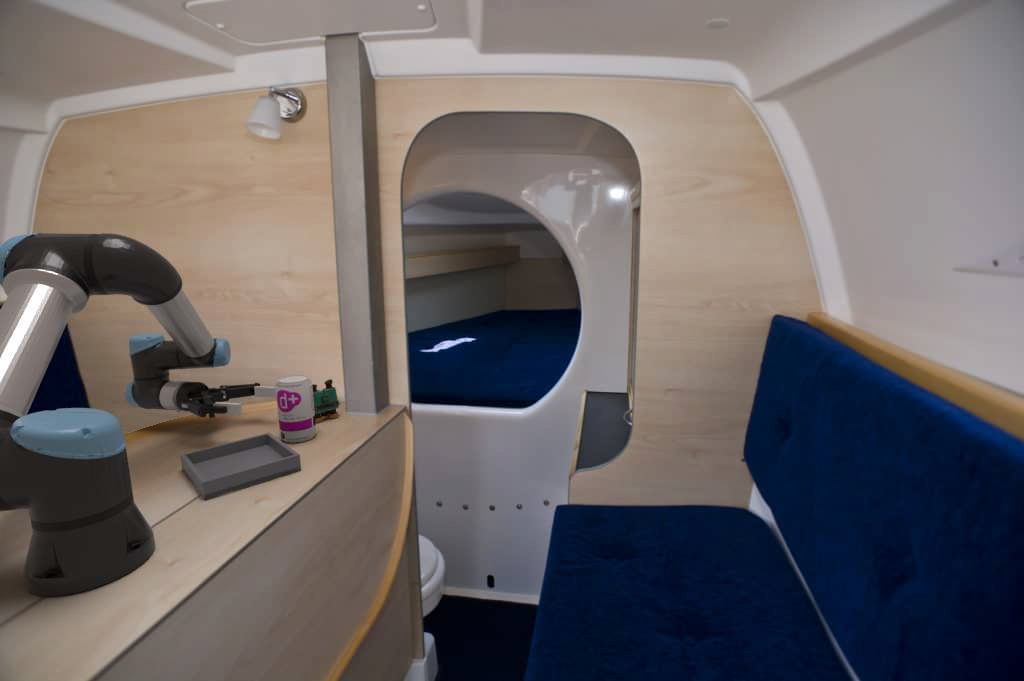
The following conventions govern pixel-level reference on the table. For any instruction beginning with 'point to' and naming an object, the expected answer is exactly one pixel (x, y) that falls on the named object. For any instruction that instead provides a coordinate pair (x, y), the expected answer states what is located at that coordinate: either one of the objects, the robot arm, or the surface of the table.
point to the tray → (239, 464)
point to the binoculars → (325, 401)
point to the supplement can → (295, 408)
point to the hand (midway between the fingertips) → (260, 400)
